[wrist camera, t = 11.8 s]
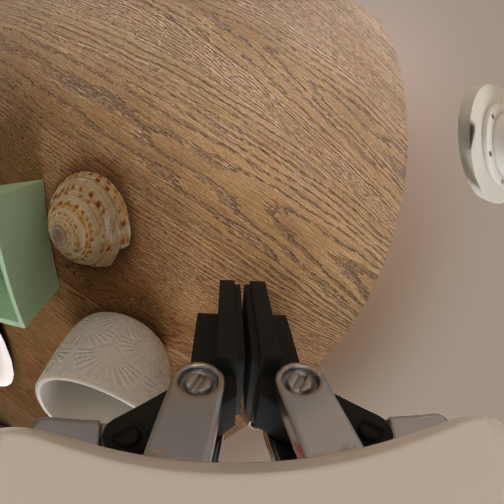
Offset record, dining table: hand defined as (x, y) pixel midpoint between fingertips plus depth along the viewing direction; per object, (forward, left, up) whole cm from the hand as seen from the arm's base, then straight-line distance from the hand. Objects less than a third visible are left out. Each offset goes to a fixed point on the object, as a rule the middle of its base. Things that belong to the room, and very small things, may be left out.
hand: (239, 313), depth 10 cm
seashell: (+11, -6, -14) cm, 18 cm away
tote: (+22, -10, -13) cm, 27 cm away
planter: (+17, +7, -14) cm, 23 cm away
